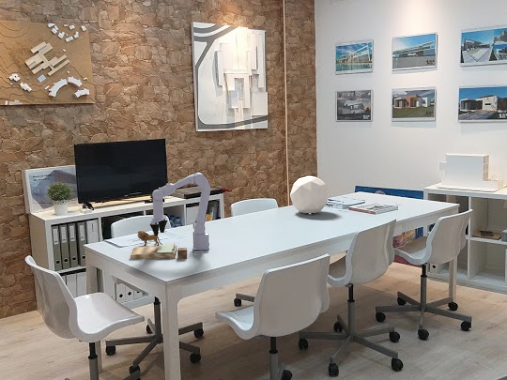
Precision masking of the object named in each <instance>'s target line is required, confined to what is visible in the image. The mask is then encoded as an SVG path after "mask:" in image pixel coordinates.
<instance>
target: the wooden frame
mask: <svg viewBox="0 0 507 380" xmlns="http://www.w3.org/2000/svg"><path fill="white" fill-rule="evenodd" d="M158 248H159V246H157V245H154V246H152V245H150V246H147V245H146V246H134V247H133V248H132V251H131V252H130V255H129V256H130V260H157V259H159V260H160V259H176V255H177V253H178V252H177V250H178V245H175V249H174V253H157V251H158Z"/></svg>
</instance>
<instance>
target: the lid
mask: <svg viewBox="0 0 507 380" xmlns="http://www.w3.org/2000/svg"><path fill="white" fill-rule="evenodd" d="M175 246H176V243H175V242H174V243H172V244H163V245H161V244H159V248H158V251H157V253H174V249H175Z"/></svg>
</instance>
